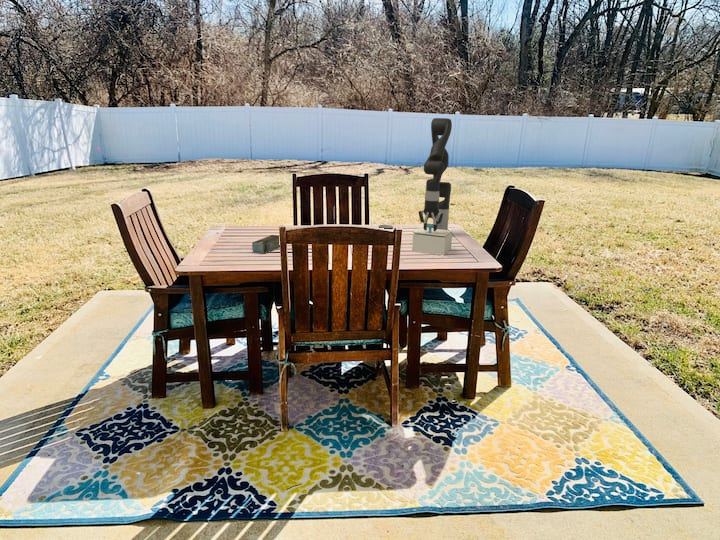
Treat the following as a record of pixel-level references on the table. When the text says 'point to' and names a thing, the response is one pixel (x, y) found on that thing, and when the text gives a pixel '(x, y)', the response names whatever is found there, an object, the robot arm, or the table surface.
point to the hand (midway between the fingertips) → (430, 230)
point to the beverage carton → (266, 244)
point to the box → (431, 243)
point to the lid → (431, 232)
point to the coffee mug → (386, 226)
